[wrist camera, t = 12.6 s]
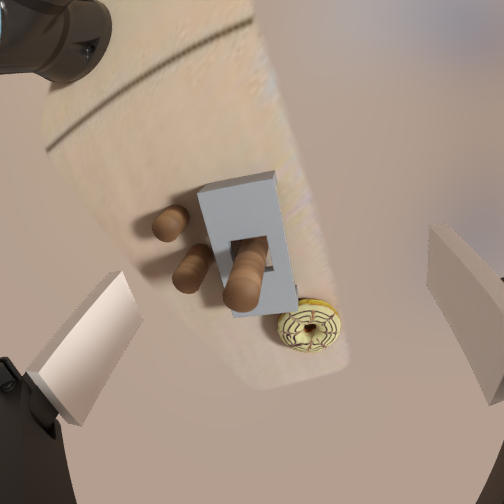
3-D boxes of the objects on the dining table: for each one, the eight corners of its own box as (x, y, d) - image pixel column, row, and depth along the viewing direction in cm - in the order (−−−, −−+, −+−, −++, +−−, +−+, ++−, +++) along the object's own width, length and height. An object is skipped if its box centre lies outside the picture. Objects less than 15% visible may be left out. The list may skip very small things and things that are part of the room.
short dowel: (161, 207, 47) (148, 218, 43) (184, 202, 47) (173, 213, 42) (169, 230, 49) (157, 244, 45) (192, 226, 48) (182, 239, 44)
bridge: (206, 184, 45) (196, 193, 40) (274, 170, 43) (272, 178, 39) (238, 299, 53) (233, 318, 49) (298, 292, 51) (298, 311, 47)
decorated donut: (277, 341, 57) (275, 355, 53) (279, 292, 52) (278, 305, 48) (333, 343, 55) (335, 357, 52) (342, 295, 51) (345, 308, 47)
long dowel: (239, 231, 48) (218, 284, 34) (266, 227, 47) (254, 280, 33) (245, 255, 49) (227, 314, 36) (271, 251, 48) (262, 310, 35)
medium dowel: (186, 246, 50) (168, 270, 43) (209, 242, 49) (195, 267, 42) (193, 268, 51) (177, 295, 44) (216, 265, 51) (203, 292, 44)
